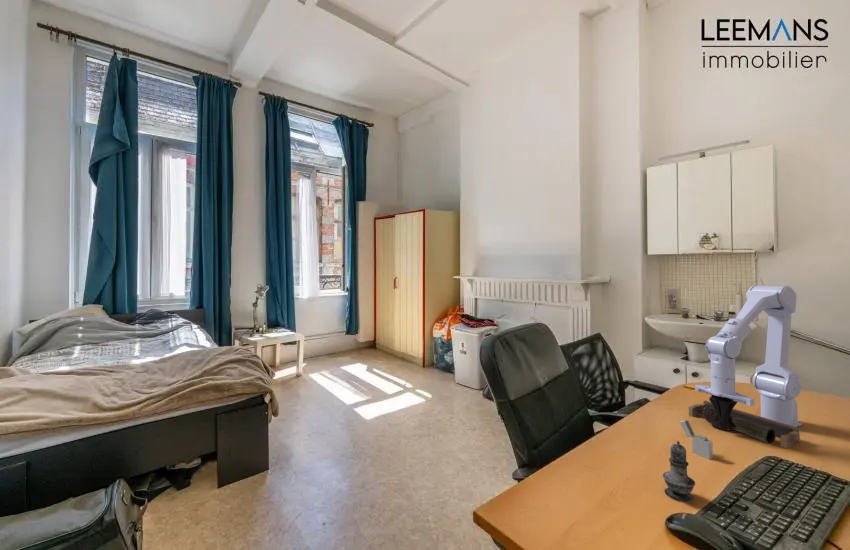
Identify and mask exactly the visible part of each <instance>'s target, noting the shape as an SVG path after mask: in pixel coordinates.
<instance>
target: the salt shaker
mask: <svg viewBox="0 0 850 550" xmlns="http://www.w3.org/2000/svg"><path fill="white" fill-rule="evenodd" d="M668 462H669V463H670V465H669V466H670V469H669V471H665V472H663V474H662V477H663V479H664V482H665V484H666V486H667V487H666V488H664V493H665V495H666V496H667V497H669V498H670V499H672V500H674V501H677V502H679V503H686V504H687V503H689V504H690V503H693V502H694V501H695V497H694V496H693V495H692V494H691V493H692V492H693V489H694V487H695V486H696V481H695V480H694V479H693V478H692V477H690V476H689V475H688V466H689V462H688V461H687V449H686V447H685V446H684V445H682V444H681V443H680V441H679V440H677V441H676V443H674V444H671V445H670V457H669V458H668Z"/></svg>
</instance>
